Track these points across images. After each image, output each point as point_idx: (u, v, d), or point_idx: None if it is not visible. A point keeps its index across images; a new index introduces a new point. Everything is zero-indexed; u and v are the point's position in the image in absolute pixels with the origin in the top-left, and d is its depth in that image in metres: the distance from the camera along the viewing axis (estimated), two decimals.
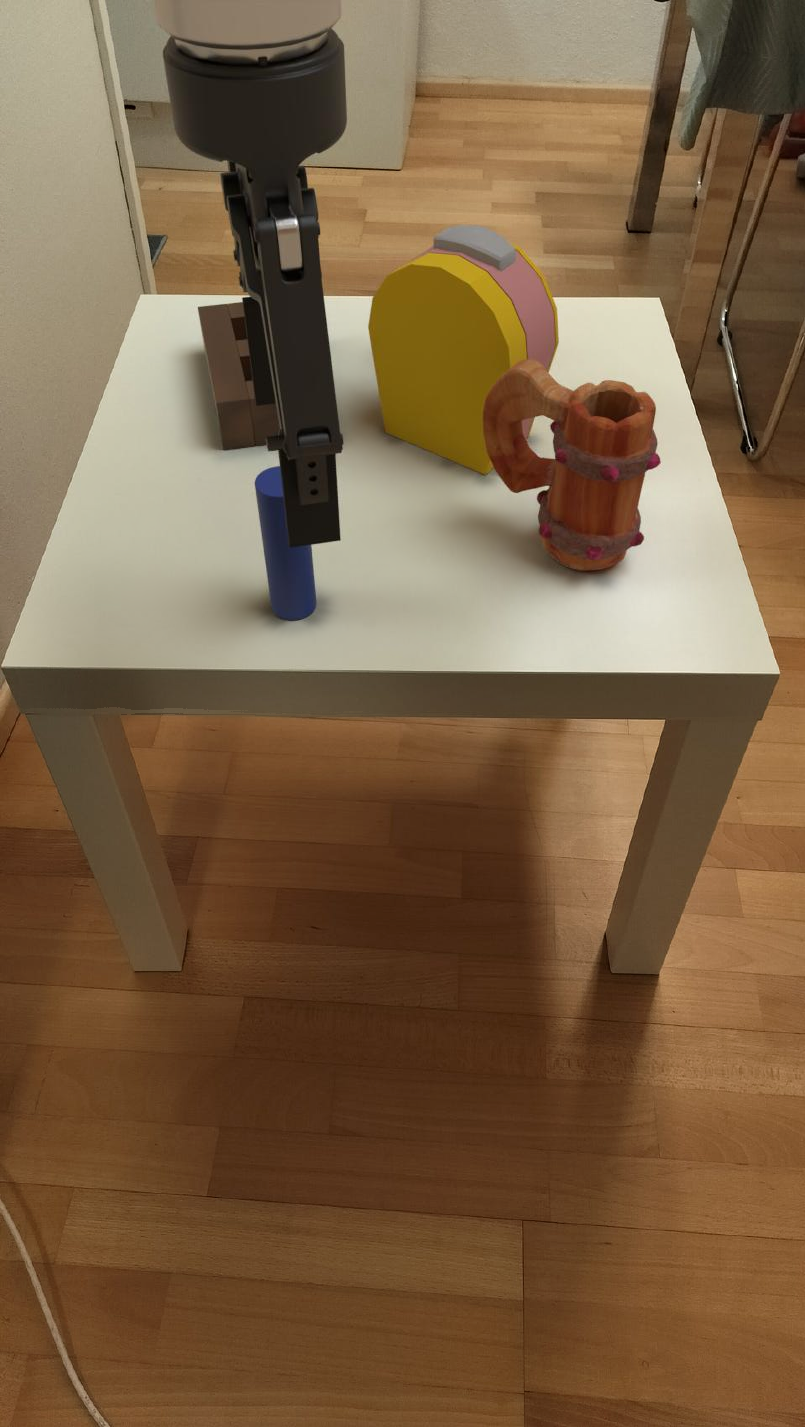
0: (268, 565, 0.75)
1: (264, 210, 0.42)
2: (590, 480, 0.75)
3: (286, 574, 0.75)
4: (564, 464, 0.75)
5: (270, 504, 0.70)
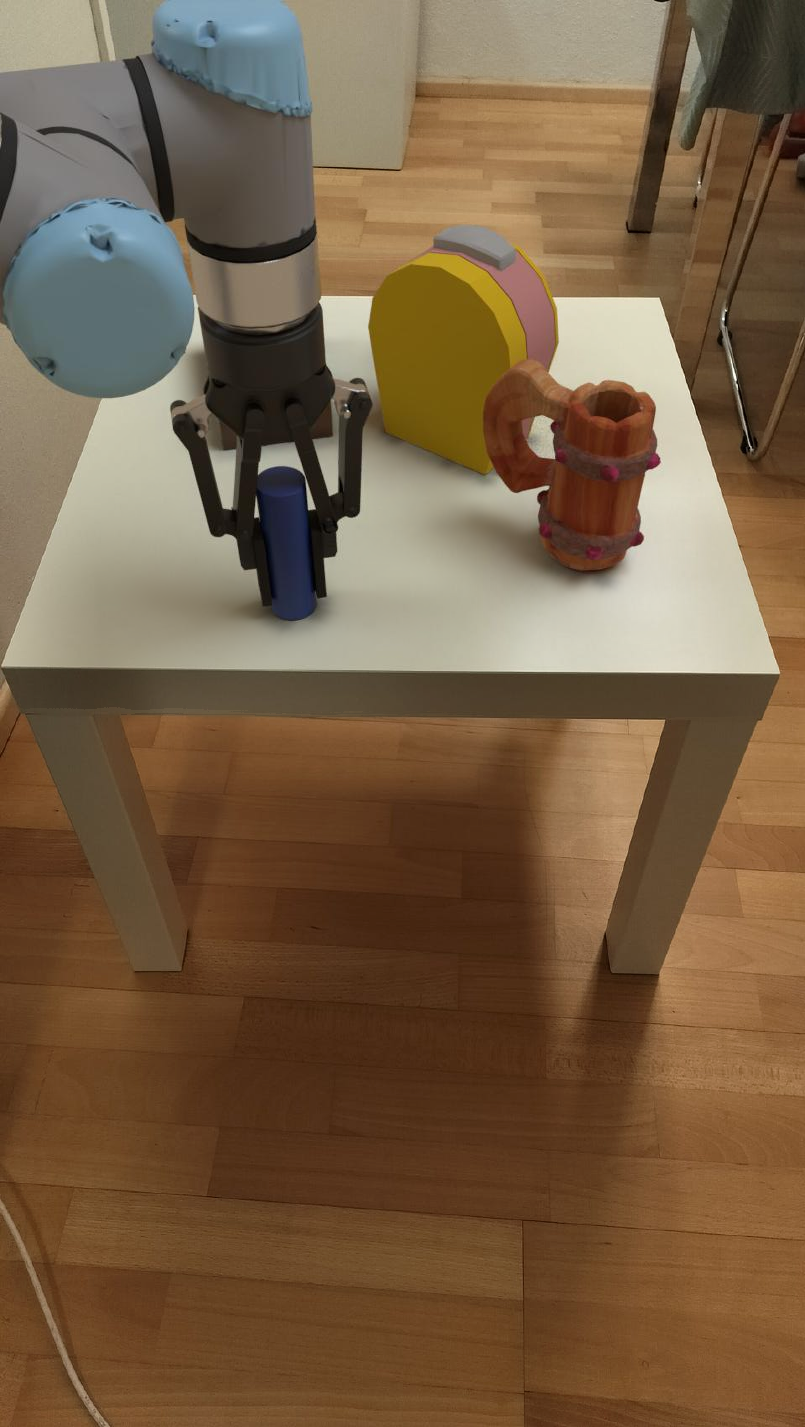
0: (268, 565, 0.75)
1: (333, 381, 0.65)
2: (590, 480, 0.75)
3: (286, 574, 0.75)
4: (564, 464, 0.75)
5: (270, 504, 0.70)
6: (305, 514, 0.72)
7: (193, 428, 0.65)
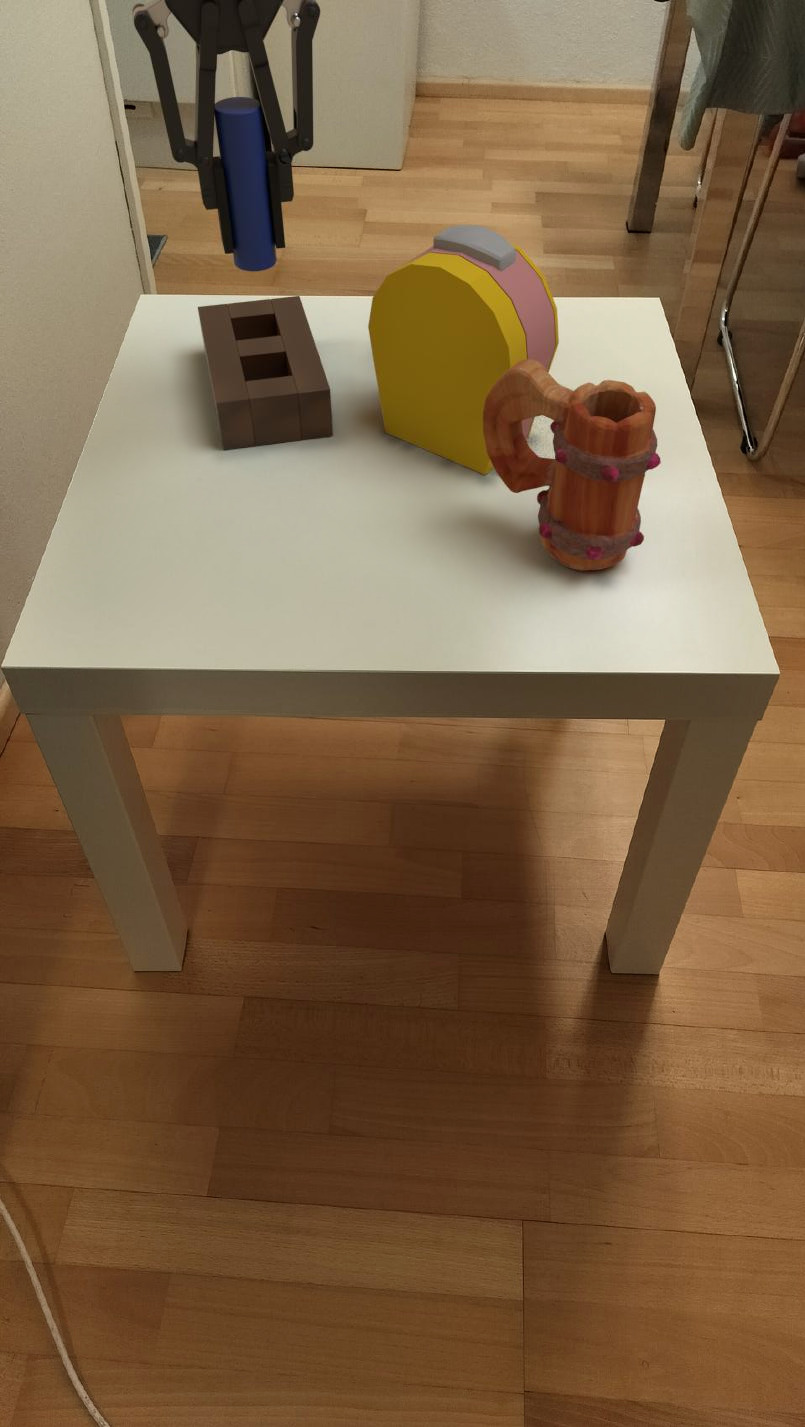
0: (229, 205, 0.80)
1: None
2: (590, 480, 0.75)
3: (246, 213, 0.80)
4: (564, 464, 0.75)
5: (228, 124, 0.75)
6: (261, 143, 0.77)
7: (153, 25, 0.70)
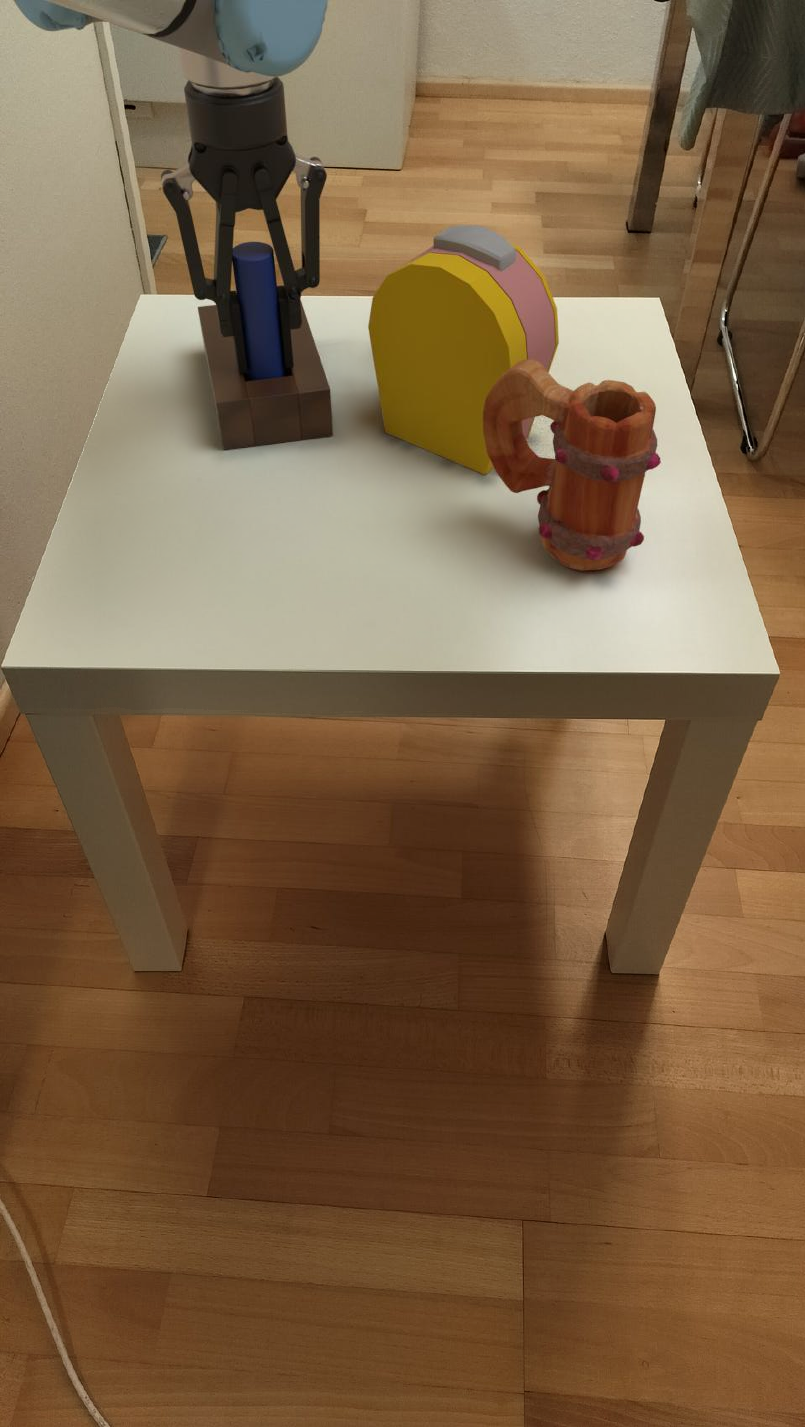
0: (243, 333, 0.90)
1: (294, 153, 0.80)
2: (590, 480, 0.75)
3: (259, 340, 0.89)
4: (564, 464, 0.75)
5: (244, 268, 0.85)
6: (273, 282, 0.86)
7: (179, 190, 0.79)
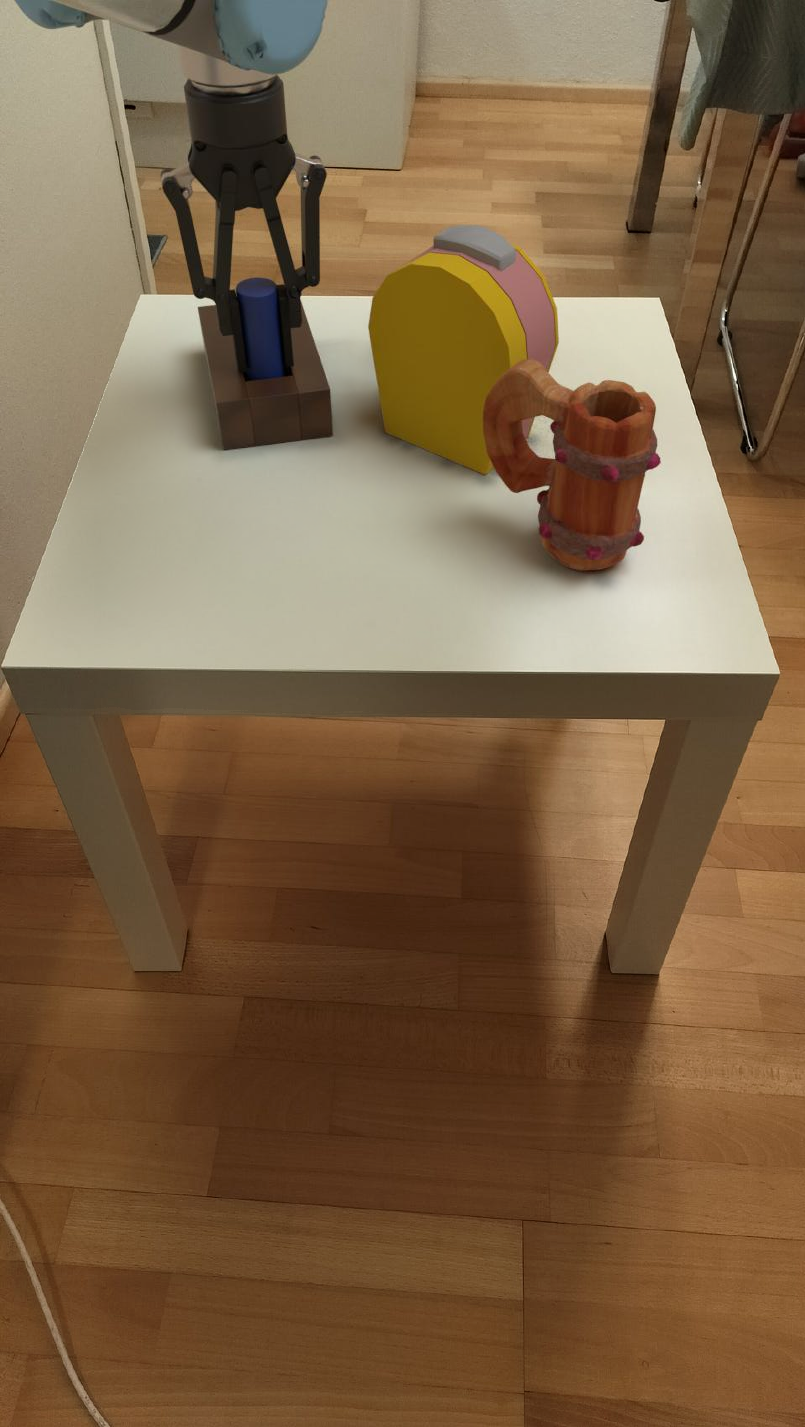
0: (247, 365, 0.92)
1: None
2: (590, 480, 0.75)
3: (262, 372, 0.92)
4: (564, 464, 0.75)
5: (248, 304, 0.87)
6: (277, 317, 0.89)
7: (179, 189, 0.79)
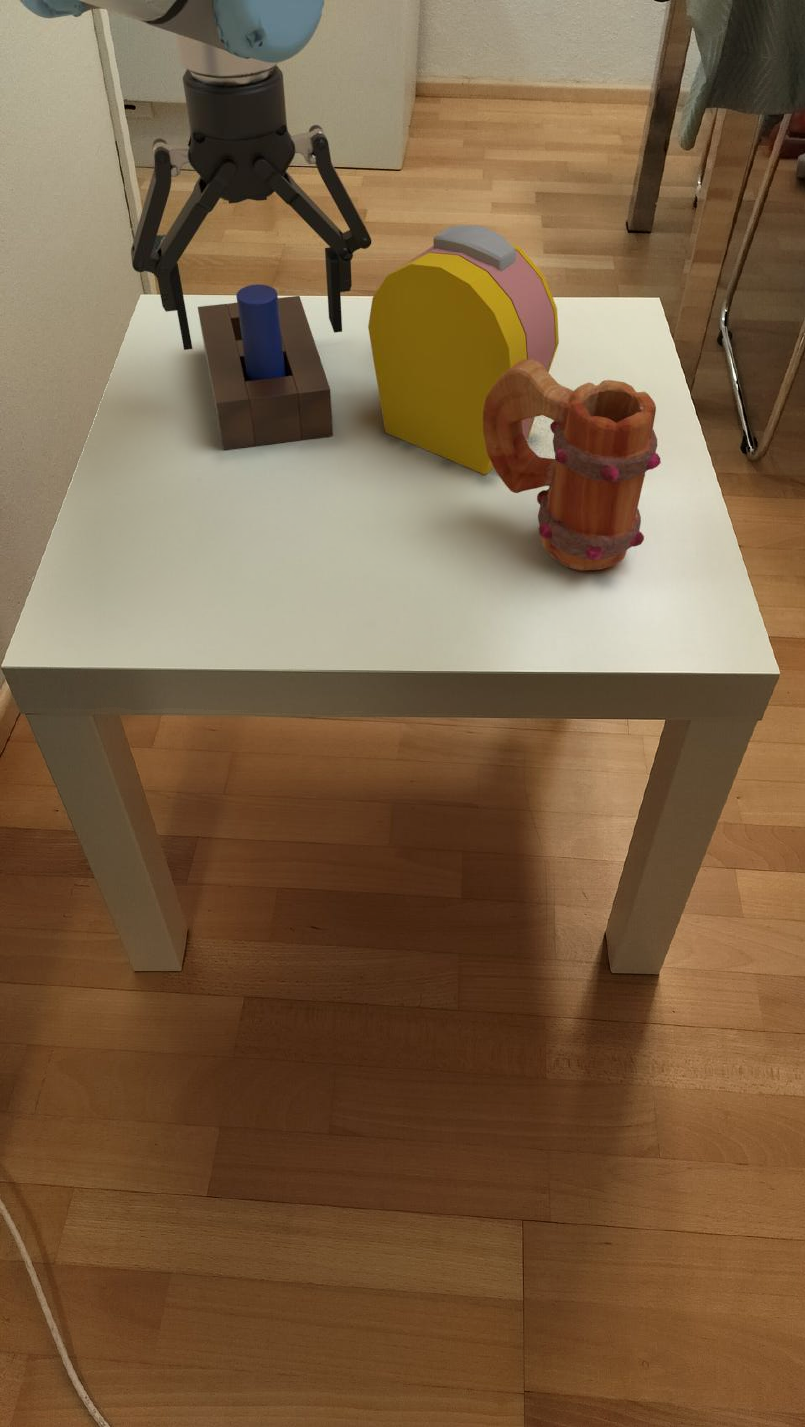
0: (248, 371, 0.92)
1: (293, 143, 0.79)
2: (590, 480, 0.75)
3: (263, 378, 0.92)
4: (564, 464, 0.75)
5: (249, 311, 0.87)
6: (277, 323, 0.89)
7: (170, 164, 0.78)
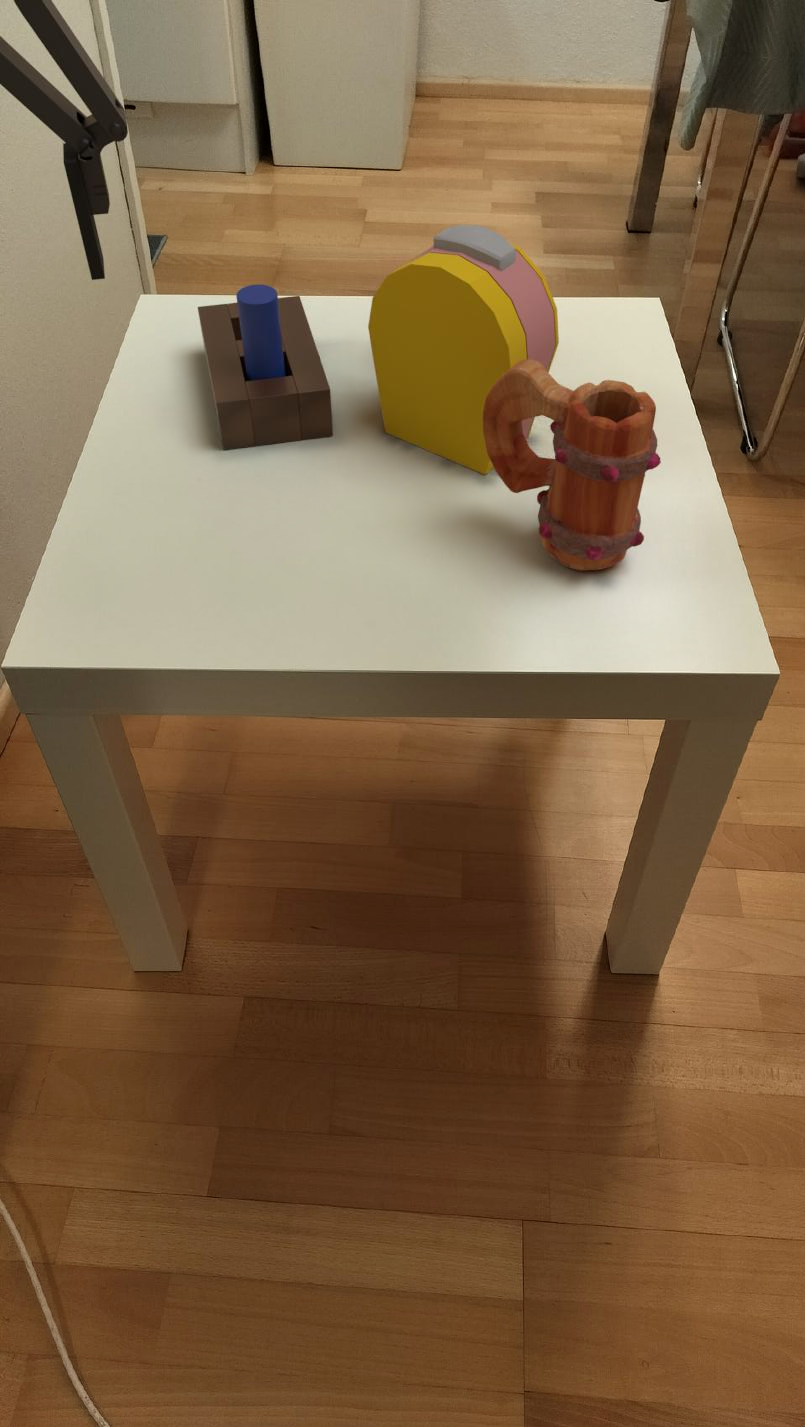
0: (248, 371, 0.92)
1: None
2: (590, 480, 0.75)
3: (263, 378, 0.92)
4: (564, 464, 0.75)
5: (249, 311, 0.87)
6: (277, 323, 0.89)
7: None
